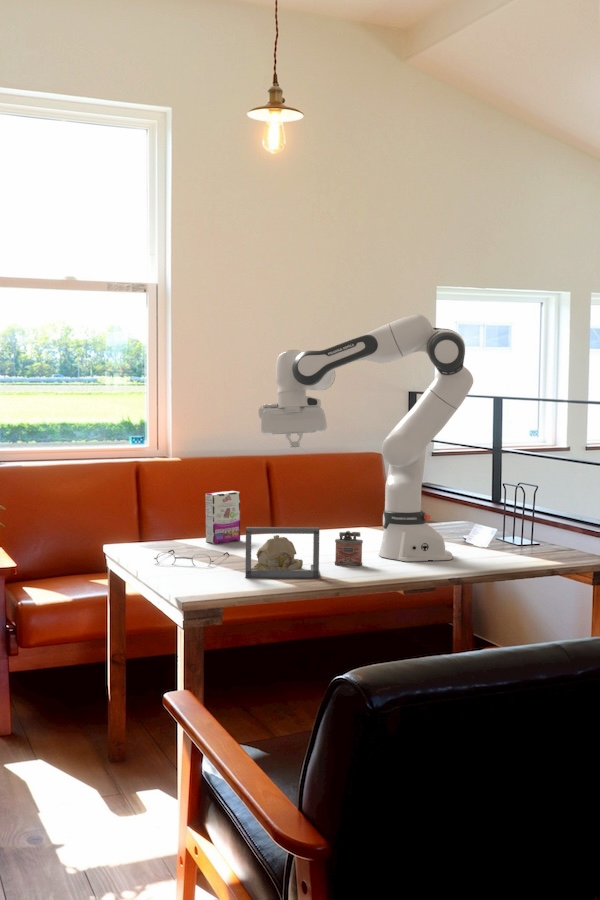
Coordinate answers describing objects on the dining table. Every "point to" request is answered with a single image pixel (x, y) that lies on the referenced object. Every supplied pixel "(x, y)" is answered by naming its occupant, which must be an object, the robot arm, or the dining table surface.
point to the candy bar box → (222, 517)
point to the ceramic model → (277, 555)
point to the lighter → (348, 549)
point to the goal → (283, 573)
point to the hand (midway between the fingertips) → (294, 447)
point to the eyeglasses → (187, 557)
